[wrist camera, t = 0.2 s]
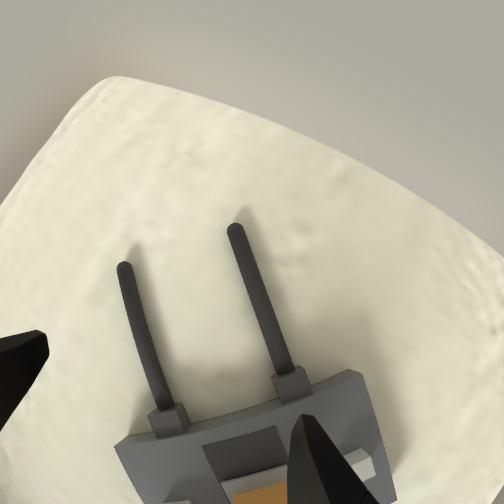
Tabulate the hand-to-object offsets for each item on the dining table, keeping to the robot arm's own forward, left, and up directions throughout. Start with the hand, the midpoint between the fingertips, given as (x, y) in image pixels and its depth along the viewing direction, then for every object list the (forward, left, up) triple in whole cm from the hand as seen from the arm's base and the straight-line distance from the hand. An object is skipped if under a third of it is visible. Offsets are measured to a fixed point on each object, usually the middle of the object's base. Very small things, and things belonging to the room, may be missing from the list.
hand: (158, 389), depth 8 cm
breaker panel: (-12, 0, -15) cm, 19 cm away
